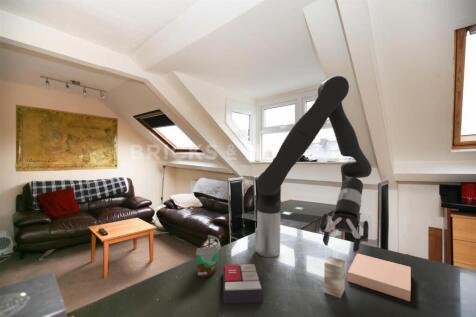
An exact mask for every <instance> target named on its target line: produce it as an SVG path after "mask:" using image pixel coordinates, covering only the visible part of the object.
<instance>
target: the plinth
mask: <svg viewBox="0 0 476 317" xmlns="http://www.w3.org/2000/svg"><path fill="white" fill-rule="evenodd" d="M411 271H412V267H411V266H407V265H403V264H400V263H396V262H393V261H388V260H384V259H380V258H377V257H374V256H369V255H365V254H361V253H356V255H355V257H354V259H353V261H352V262H351V264H350V266H349V269H348V271H347V282H350V283H353V284H355V285H359V286H362V287H363V288H368V289H371V290H374V291H378V292H381V293H383V294H386V295H388V296H393V297H396V298H398V299H401V300H405V301H407V302H411V291H412V290H411V289H412V288H411V287H412V284H411V282H412V281H411V280H412V279H411V278H412V277H411V276H412V275H411Z"/></svg>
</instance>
